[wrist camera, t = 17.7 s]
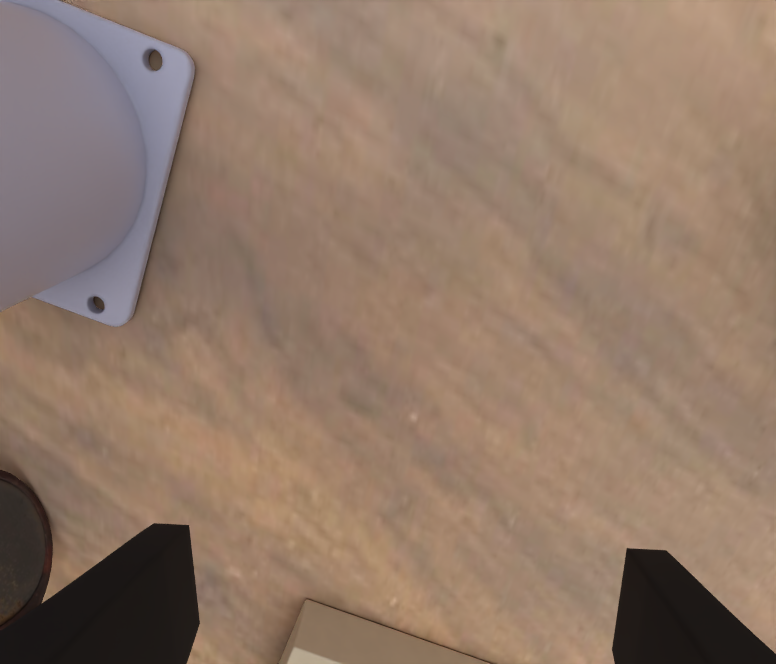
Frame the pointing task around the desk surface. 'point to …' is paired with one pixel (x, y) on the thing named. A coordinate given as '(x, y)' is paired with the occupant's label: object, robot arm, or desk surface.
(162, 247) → the desk surface
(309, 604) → the scale
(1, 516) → the eyeglasses
